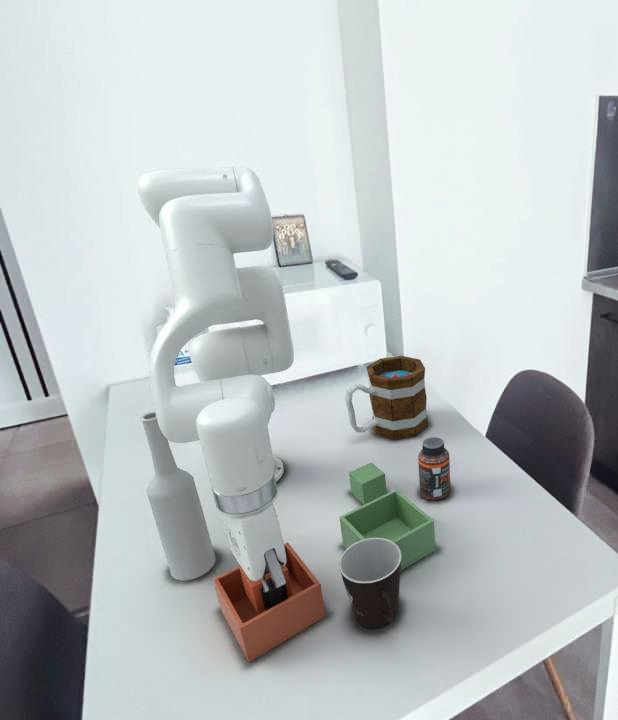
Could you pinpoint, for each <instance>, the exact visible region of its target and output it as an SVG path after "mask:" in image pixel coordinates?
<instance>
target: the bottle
mask: <svg viewBox="0 0 618 720" xmlns="http://www.w3.org/2000/svg"><path fill="white" fill-rule="evenodd" d="M139 419H140V421H141V422H142V426H143V430H144V432H145V433H144V434H145V436H146V440H147V444H148V447H149V451H150V454H151V460H152V464H153V468H154V476H153V477H152V479H151V480H150V482H149V483H148V486H147V489H146V495H147V498H148V501H149V505H150V510H151V512H152V515H153V518H154V522H155V526H156V529H157V532H158V536H159V539H160V542H161V546H162V550H163V552H164V556H165V559H166V562H167V565H168V567H169V571H170V575H171V577H172V578H173V579H174V580H177V581H181V582H184V581H187V582H188V581H192V580H194V579H198V578H200V577H203V576H204V575H205V574H207V573H208V572H210V570H211V569H213V567H214V566H215V564H216V560H217V559H216V555H215V551H214V547H213V543H212V539H211V535H210V531H209V527H208V524H207V522H206V517H205V514H204V509H203V507H202V504H201V499H200V495H199V492H198V489H197V485H196V481H195V477H194V476H193V475H192V474H191V473H190V472H188V471H186V470H184V469H182V468H180V467H178V465H177V463H176V460H175V457H174V455H173V451H172V449H171V446H170V442H169V440H168V439H167V438H166V437H165V436H164V435H163V434H162V432H161V430H160V428H159V424H158V421H157V418H156V412H155V410H154V411H152V410H151V411H148V412H146V413H143V414H142V415H141V416H140V417H139Z"/></svg>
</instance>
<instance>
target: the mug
mask: <svg viewBox="0 0 618 720" xmlns="http://www.w3.org/2000/svg"><path fill="white" fill-rule="evenodd" d="M366 372H367V376H368V384H369V385H368V386H369V387H366V386H365V385H363V384H361V383H358V384H357V383H356V384H355V383H354V384H352V385H351V386H350V387H349V388H347V389H346V393H345V398H344V400H345V405H346V407H347V408H346V409H347V414H348V421H349V425H350V426H351V428H352V429H353V430H354V432H355V433H366V432H367V431H369V430H370V429H373V431H374V435H375V436H378V437H381V438H384V439H387V440H390V441H391V440H392V441H398V440H403V439H410V438H414V437H418V436H419V435H420V434H421V433H422V432H423V431H424V430H426V429H427V428H428V427H429V422H428V417H427V415H428V414H427V400H428V399H427V398H428V397H427V392H426V381H425V378H426V377H425V376H426V367H425V365H424V364H423V362H422V359H419V358H414V357H410V356H406V355H405V356H404V355H398V356H390V357H383V358H379V359H377V360H375V361H373V362H372V363H370V364H369V365H367V366H366ZM356 391H362V392H363V393H365V394H369V395H368V396H369V400H370V405H371V412H372V414H371V415H372V419H370V420H369V421H367V422H365V423H364V424H363V425H361V426H358V425H357V420H356V419H357V418H356V413H355V408H354V405H353V394H354V393H355V392H356Z"/></svg>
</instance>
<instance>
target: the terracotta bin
mask: <svg viewBox="0 0 618 720" xmlns="http://www.w3.org/2000/svg"><path fill="white" fill-rule="evenodd" d="M284 547H285V552H286V564H285V566H286V567H287V569H288V573H289V578H290V583H291V588H292V593H293V595H292V596H291V597H289V598H288V599H287V600H285V601H283V602H281V603H279V604H278V605H276V606H274V607H272V608H270V609H269V610H267V611H266V610H265V611H263V612H262V613H260V614H258V613H257V611H256V609H255V608H254V606H253V604H252V603H251V601H250V599H249V598H248V596H247V595H246V593H245V589H244V585H243V581H242V576H241V572H240V568H239V567H240V565H238V566H236V567H234V568H232V569H230V570H228V571H226V572H223V573H222V574H219V575H218V576H216V577H214V578H212V582H213V586H214V590H215V593H216V596H217V600H218V605H219V608H220V611H221V613H222V615H223V617H224V619H225V620H226V622H227V624H228V626H229V628H230V630H231V632H232V633H233V636H234V637H235V639H236V642H237V643H238V644H239V647H240V649H241V651H242V653H243V654H244V657H245V658H246V660H247V662H248V663H250V662H252V661H254V660H255V659H257V658H259V657H260V656H262V655H264V654H266V653H267V652H269V651H270V650H272V649H274V648H275V647H277V646H279V645H280V644H283V643H284V642H286V641H287V640H289V639H290V638H291V637H294V636H295V635H297V634H299V633H300V632H302V631H304V630H305V629H307V628H309V627H310V626H312V625H314V624H315V623H318V621H320V620H322V619H324V618H326V617H327V615H326V614H327V613H326V609H325V603H324V602H325V601H324V596H323V590H322V585H321V583H320V582H319V580H318V579H317V577H316V576H315V575H314V574H313V572H312V571H311V570H310V568H309V567H308V566H307V565H306V563H305V562H304V561H303V560H302V558H301V557H300V556H299V554H298V553H297V552H296V550H295V549H294V548H293V547H292V545H291V543H289V542H285V543H284Z"/></svg>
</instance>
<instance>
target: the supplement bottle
mask: <svg viewBox="0 0 618 720" xmlns="http://www.w3.org/2000/svg"><path fill="white" fill-rule="evenodd" d="M417 459H418V460H417V463H418V478H419V479H418V481H419V482H418V483H419V491H420V495H421V496H422V497H423V498H424V499H427V500H430V501H439V500H442V499H445V498H446V497H448V495H449V494H450V492H451V463H450V462H451V460H450V459H451V457H450V452H449V450H448V449H447V448H446V447H445V441H444V440H443V439H442V438H440V437H438V436H431V437H428V438H425V439H424V440H423V441H422V448H421V450H419V452H418V454H417Z"/></svg>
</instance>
